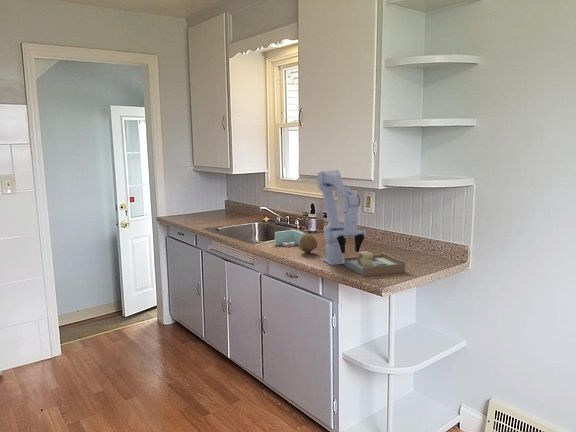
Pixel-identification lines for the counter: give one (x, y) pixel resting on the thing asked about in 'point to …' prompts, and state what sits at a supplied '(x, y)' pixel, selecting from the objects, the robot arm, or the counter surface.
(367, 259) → the wood block
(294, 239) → the l-shaped corner panel
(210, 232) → the counter surface
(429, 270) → the counter surface
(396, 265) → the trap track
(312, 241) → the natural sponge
